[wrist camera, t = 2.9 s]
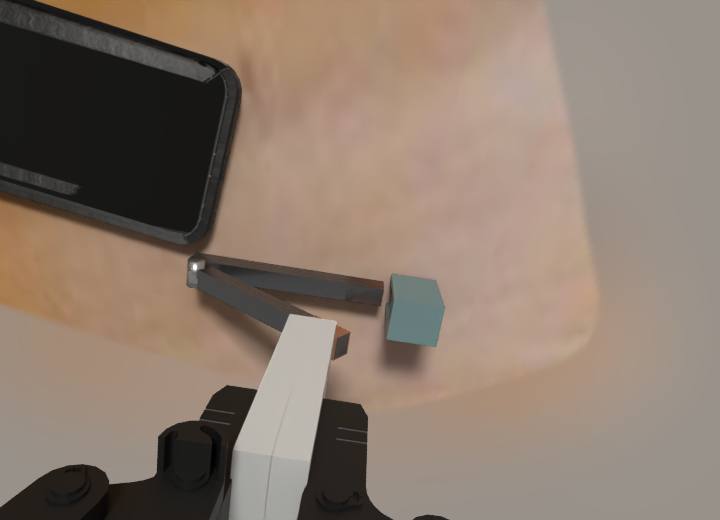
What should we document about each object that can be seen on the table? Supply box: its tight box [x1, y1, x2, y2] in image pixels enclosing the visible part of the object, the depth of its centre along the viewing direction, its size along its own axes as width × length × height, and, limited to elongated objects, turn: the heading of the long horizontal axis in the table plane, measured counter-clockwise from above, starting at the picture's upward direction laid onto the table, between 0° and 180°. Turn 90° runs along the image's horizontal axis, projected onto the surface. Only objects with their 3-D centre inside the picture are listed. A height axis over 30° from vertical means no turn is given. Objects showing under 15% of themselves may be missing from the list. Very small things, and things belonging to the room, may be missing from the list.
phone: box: [0, 0, 242, 245], centre depth 21 cm, size 8×1×15 cm
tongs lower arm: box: [189, 253, 384, 306], centre depth 22 cm, size 8×1×1 cm, turn 81°
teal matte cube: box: [385, 274, 445, 347], centre depth 21 cm, size 2×2×3 cm
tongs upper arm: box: [186, 258, 350, 360], centre depth 19 cm, size 8×1×1 cm
